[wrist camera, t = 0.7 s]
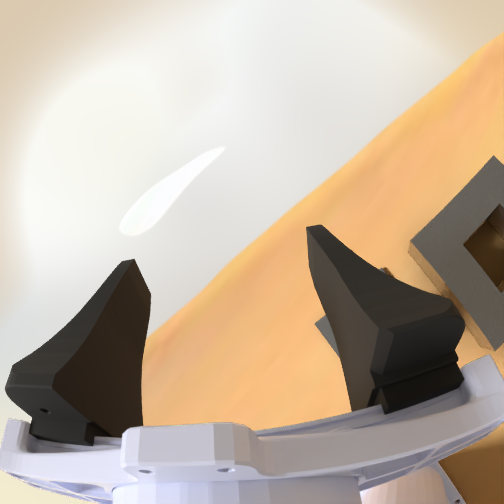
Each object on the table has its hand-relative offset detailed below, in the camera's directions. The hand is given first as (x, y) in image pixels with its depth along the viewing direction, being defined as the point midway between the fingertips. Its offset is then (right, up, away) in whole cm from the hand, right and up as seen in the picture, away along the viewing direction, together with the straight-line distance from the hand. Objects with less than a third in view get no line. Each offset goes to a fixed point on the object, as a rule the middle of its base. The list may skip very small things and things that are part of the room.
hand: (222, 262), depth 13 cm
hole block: (+20, 0, +8) cm, 21 cm away
